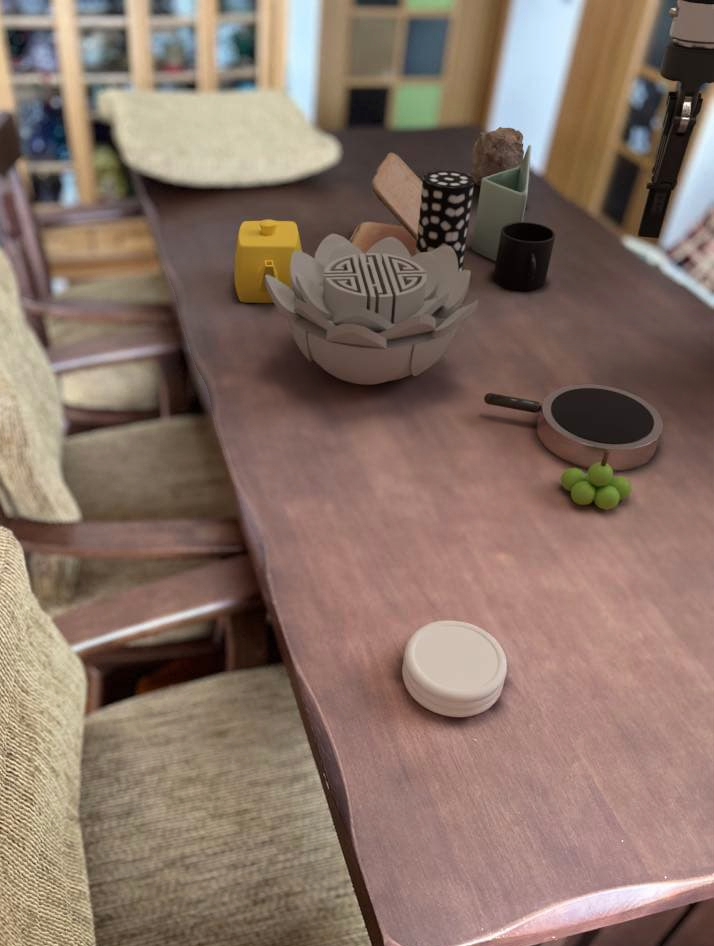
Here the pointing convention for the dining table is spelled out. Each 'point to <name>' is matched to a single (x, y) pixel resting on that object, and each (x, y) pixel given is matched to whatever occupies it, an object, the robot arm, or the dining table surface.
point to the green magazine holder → (500, 206)
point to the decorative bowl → (373, 307)
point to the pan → (593, 424)
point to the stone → (496, 153)
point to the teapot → (263, 257)
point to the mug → (523, 255)
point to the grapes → (596, 485)
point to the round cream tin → (454, 668)
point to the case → (393, 206)
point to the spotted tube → (445, 212)
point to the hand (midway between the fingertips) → (648, 235)
